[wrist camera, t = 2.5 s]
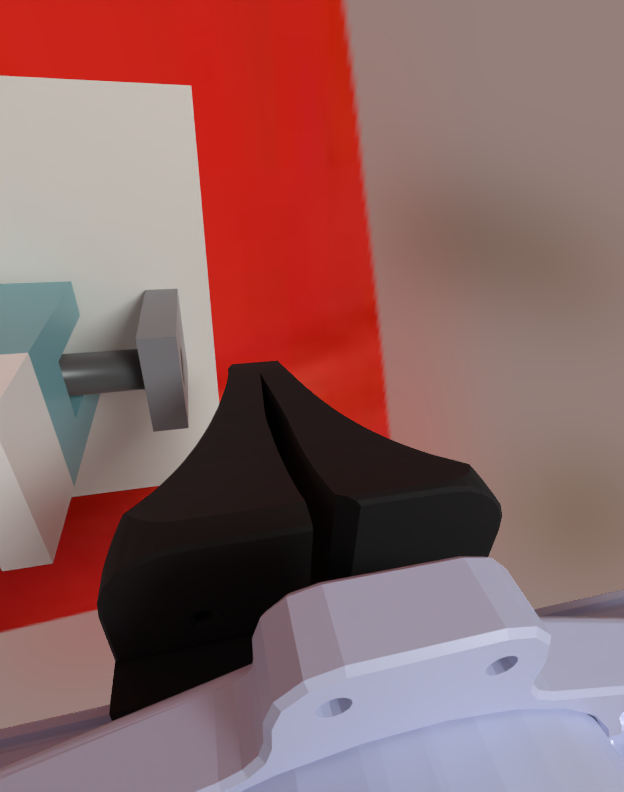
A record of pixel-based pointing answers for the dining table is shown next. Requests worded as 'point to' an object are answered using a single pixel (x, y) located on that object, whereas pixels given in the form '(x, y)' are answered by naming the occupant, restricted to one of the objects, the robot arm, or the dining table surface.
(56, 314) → the slider block
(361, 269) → the dining table surface
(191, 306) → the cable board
